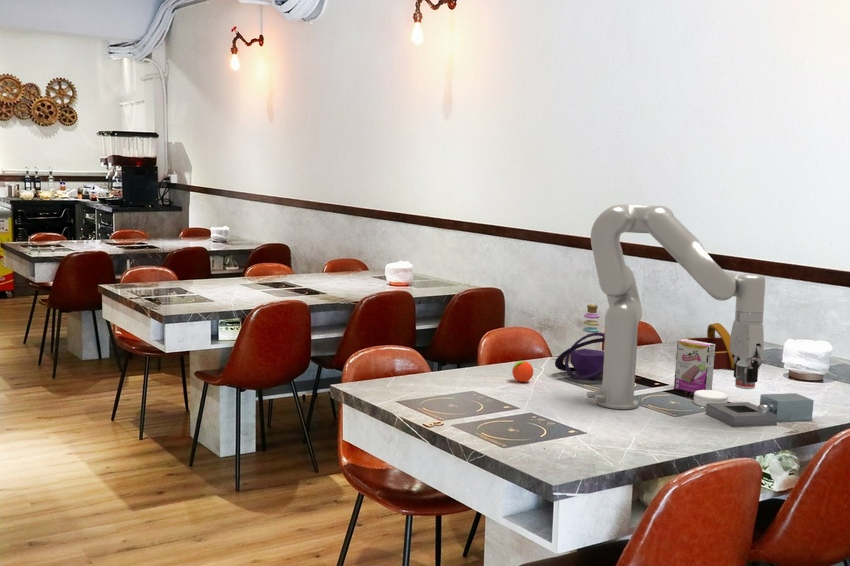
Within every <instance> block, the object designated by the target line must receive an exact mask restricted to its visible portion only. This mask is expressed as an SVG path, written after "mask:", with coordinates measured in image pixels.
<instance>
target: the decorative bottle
mask: <svg viewBox="0 0 850 566" xmlns="http://www.w3.org/2000/svg"><path fill="white" fill-rule="evenodd" d="M586 308H587V311H586V312H587V313H584V315H583V317H584V318H587V319H588V320H585V321H583V324H584V325H586V326H587V327H584V328H583V329H582V331H583V332H586V333H588V334H587V335H584V336H582V337H581V338H579V339H577V340H576V341H575V342H574V343H573V344H572V345H571V346H570V347H569V348H567V349H566V350H565V351H563V352H562V353H560V354H559V356H557V358H556V359H555V361H554V366H555V368H556V369H557V370H559V371H563V372H566V373H567V374H568V375H569V376H570V377H571V378H574V379H577V380H595V379H598V378H599V377H600V376H602V375H603V363H604V350H600V349H598V350H597V349H591V348H582V347H585V346H588V345H592V344H596V343H597V344H598V343H605V332H599V331H600V330H599V329H598V328H597V326H599V325H600V323H599V322H598V321H597V320H594V319H599V318H601V316H600V315H599V314H598V313H597V312H598V305H597V304H592V303H589V304H587V305H586ZM589 319H591V320H589ZM589 326H592V327H589ZM594 326H596V327H594ZM596 336H597V337H600V338H593V339H590V340H586V339H588V338H592V337H596ZM584 340H585V341H584ZM569 360H570V364H571V366H570V365H569ZM574 372H576V373H577V374H576V373H574Z"/></svg>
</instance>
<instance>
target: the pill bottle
mask: <svg viewBox="0 0 850 566" xmlns="http://www.w3.org/2000/svg"><path fill="white" fill-rule="evenodd" d="M751 358H754V356H753V357H751ZM739 359H740V360H739V361H738V362H737V364H736V378H735V384H734V385H735V387H736V388H737V389H742V390H754V389H755V388H756V382H753V383H748V382H747V369H748V368H749V365H748V359H745V358H742V357H739ZM753 362H754V361H753V360H752V363H753Z"/></svg>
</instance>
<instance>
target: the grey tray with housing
mask: <svg viewBox="0 0 850 566" xmlns="http://www.w3.org/2000/svg"><path fill="white" fill-rule="evenodd" d="M814 402H815V401H814V399H812V398H809V397H807V396H803V395H801V394H799V393H796V392H795V393H769V394H767V393H763V394H760V399H759V404H758V405H755V404H753V403H751V402H750V401H743V402H742V401H741V402H740V401H738V402H737V401H736V402H727V403H707V404H706V407H705V415H708V416H710V417H711V418H713V419H716V420H718V421H720V422H722V423H724V424H727V425H729V426H730V427H733V428H737V427H739V428H741V427H743V428H744V427H761V426H762V427H763V426H765V427H766V426H778V425H777V423H778V422H780V423H781V422H798V421H799V422H800V421H801V422H802V421H805V422H806V421H812V420H813V411H814Z"/></svg>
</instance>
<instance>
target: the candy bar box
mask: <svg viewBox="0 0 850 566" xmlns="http://www.w3.org/2000/svg"><path fill="white" fill-rule="evenodd" d="M675 356H676V357H675V372H674V382H673V389H674V390H678V391H682V392H688V393H692V394H694V392H696V391H698V390H713V382H714V381H713V378H714V369H713V368H714V356H715V344H711V343H705V342H699V341H694V340H688V339H683V338H682V339H678V340H677V344H676V355H675Z"/></svg>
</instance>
